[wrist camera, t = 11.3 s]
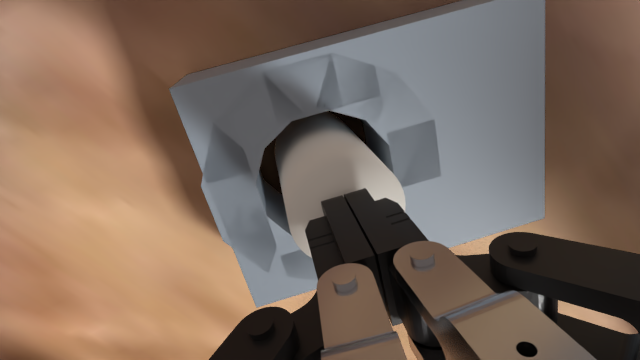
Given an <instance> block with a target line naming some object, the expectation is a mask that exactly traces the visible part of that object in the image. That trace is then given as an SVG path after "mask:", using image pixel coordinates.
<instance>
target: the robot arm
mask: <svg viewBox="0 0 640 360" xmlns="http://www.w3.org/2000/svg"><path fill="white" fill-rule="evenodd" d="M321 206H322V210H323V213H324V216H323V217H319V218H316V219H313V220H309V222H308V225H307V227H306V229H305V233H306V237H307V240H308V244H309V248H310V252H311V256H312V259H313V263H314V267H315V271H316V275H317V279H318V282H317V291H316V293H315V295H314V296H313V298H312V299H311V300H310V301H309V302H308V303H307V304H306V305H304V306H303V307H301V308H300V309H298V310H296V311H295V312H293V313H291V314H290V313H289V312H288V311H287V310H285V309H283V308H280V307H266V308H262V309H259V310H257V311H254V312H253V313H251V314H249V315H248V316H246V317H245V318H244V319H243V320H242V321H241V322H240V323H239V324H238V325H237V326H236V327H235V329H234V330H233V331H232V332H231V333H230V335H229V336H228V337H227V338H226V339H225V341H224V342H223V343H222V344H221V345H220V347H219V348H218V349H217V350H216V351H215V353H214V354H213V355H212V356H211V358H210V359H209V360H407V358H406V355H405V352H404V349H403V347H402V344H401V341H400V339H399V336H398V334H397V332H396V331H395V332H394V331H393V329H392V326H395V325H398V324H401V323H403V324H404V326H405V328H406V330H407V334H408V339H409V344H410V347H411V349H412V351H413V353H414V355H415V356H416V358H417V360H640V254H636V253H631V252H625V251H620V250H615V249H610V248H605V247H600V246H595V245H590V244H585V243H579V242H574V241H569V240H564V239H559V238H554V237H549V236H544V235H539V234H533V233H527V232H513V233H507V234H504V235H501V236H499V237H497V238H495V239H494V240H493V241H492V242H491V244H490V245H489V254H481V255H468V256H460V255H455V254H454V253H453V252H452V251H451V250H449V249H448V248H447V247H446V246H444V245H442V244H440V243H437V242H433V241H429V240H428V239H427V238H426V237H425V235H424V234H423V233H422V232H421V231H420V229H419V228H418V227H417V226H416V224H415V223H414V222H413V221H412V220H410V217H409V216H408V215H407V214H406V213H405V212H404V210H403V209H402V207H401V206H400V205H399V204H398V203H397V202H395V201H392V200H390V199H388V198H383V199H380V200H376V201H374V199H373V198H372V196H371V195H370V193H369V192H368V191H367V189H366V188H364V189H360V190H357V191H354V192H350V193H347V194H344V197H343V195H340V196H337V197H334V198H330V199H327V200H323V201H321ZM558 300H560V301H564V302H567V303H570V304H574V305H577V306H581V307H584V308H588V309H591V310H594V311H598V312H601V313H605V314H608V315H612V316H615V317H618V318H621V319H623V320H625V321H627V322H629V323H630V324H631V325H633V326H634V327H635V328H636V329H637V331H638V334H625V333H621V332H618V331H614V330H611V329H608V328H605V327H602V326H598V325H595V324H592V323H589V322H586V321H582V320H579V319H576V318H573V317H570V316H566V315H563V314H560V313H558ZM389 319H390V320H389ZM390 321H391V323H392V326H391V323H390Z"/></svg>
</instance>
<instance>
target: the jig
mask: <svg viewBox="0 0 640 360" xmlns="http://www.w3.org/2000/svg"><path fill="white" fill-rule="evenodd" d="M169 90H170V93H171V95H172V98H173V100H174V103H175V105H176V108H177V110H178V113H179V115H180V118H181V120H182V123H183V125H184V128H185V130H186V133H187V135H188V138H189V140H190V143H191V145H192V148H193V150H194V153H195V155H196V158H197V160H198V163H199V165H200V168H201V170H202V173H203V178H202V183H201V188H202V190H203V193H204V195H205V198H206V200H207V203H208V205H209V208H210V210H211V212H212V215H213V217H214V220H215V222H216V225H217V227H218V230H219V232H220V234H221V237H222V239H223V241H224V242H225V243H227V244H228V245H229V246H231V247H232V248H233V250H234V253H235V255H236V258H237V260H238V263H239V265H240V268H241V270H242V273H243V275H244V278H245V280H246V283H247V285H248V288H249V290H250V293H251V295H252V298H253V300H254V303H255V305H256V308H257V307H260V306H263V305H267V304H270V303H273V302H276V301H279V300H283V299H286V298H289V297H292V296H296V295H299V294H302V293H305V292H308V291H312V290H315V289H317V282H318V279H317V275H316V271H315V267H314V263H313V259H312V258H311V257H309V256H308V255H306V254H305V253H304V252H303V251H302V250H301V249H300V248H299V247H298V246H297V244H296V243H295V241H294V239H293V237H292V235H291V232H290V228H289V224H288V219H287V214H286V209H285V204H284V199H283V196H282V195H281V194H280V193H279V192H278V191H277V190H275V189H274V188H273V187H272V186H271V185H270V184H268V183H267V182H266V181H265V180H264V179H263V176H262V173H261V170H260V165H261V161H262V156H263V152H264V149H265V148H266V147H267V146H268V145H269V144H270V143H271V142H272V141H273V140H274V139H275V138H276V137H277V136H278V135H279V134H280V133H281V132H282V131H283V130H284V128H285V127H286V126H287V125H288V124H289V123H290V122H291V121H294V120H298V119H301V118H305V117H308V116H312V115H316V114H319V113H323V112H326V111H333V112H337V113H341V114H345V115H349V116H352V117H356V118H359V119H360V120H361V121H362V123H363V128H364V133H365V138H366V143H367V147H368V148H369V149H370V150H371V151H372V152H373V153H374V154H375V155H376V156H377V157H378V158H379V159H380V160H381V161H382V162H383V163H384V164H385V166H386V167H387V168H388V169H389V170H390V171H391V172H392V173H393V174H394V175H395V176H396V178H397V179H398V181H399V182H400V184H401V186H402V189H403V191H404V195H405V203H406V207H405V213H406V214H407V215H408V216H409V217H410V220H412V221H413V222H414V223H415V224H416V226H417V227H418V228H419V229H420V231H421V232H422V233H423V234H424V235H425V237H426V238H427V239H428V240H429V241H433V242H437V243H440V244H442V245H444V246H446V247H447V248H450V247H453V246H456V245H460V244H463V243H466V242H469V241H473V240H476V239H479V238H482V237H485V236H489V235H492V234H495V233H498V232H502V231H505V230H508V229H511V228H514V227H518V226H521V225H524V224H527V223H530V222H534V221H537V220H540V219H543V218H545V0H462V1H458V2H454V3H451V4H447V5H443V6H440V7H436V8H432V9H428V10H425V11H421V12H417V13H414V14H410V15H406V16H403V17H399V18H395V19H391V20H388V21H384V22H380V23H377V24H373V25H369V26H365V27H362V28H358V29H354V30H351V31H347V32H343V33H340V34H336V35H332V36H328V37H325V38H321V39H317V40H314V41H310V42H306V43H302V44H299V45H295V46H291V47H288V48H284V49H280V50H277V51H273V52H269V53H265V54H262V55H258V56H254V57H251V58H247V59H243V60H239V61H236V62H232V63H228V64H225V65H221V66H217V67H214V68H210V69H206V70H202V71H199V72H195V73H191V74H188V75H186V76H184V77H183V78H182V79H181V80H179V81H178V82H177V83H176V84H174V85H173V86H172V87H171V88H169Z"/></svg>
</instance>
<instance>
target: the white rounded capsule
mask: <svg viewBox="0 0 640 360" xmlns="http://www.w3.org/2000/svg"><path fill="white" fill-rule="evenodd" d="M275 159H276V164H277V169H278V174H279V179H280V184H281V189H282V194H283V199H284V204H285V209H286V214H287V219H288V224H289V228H290V232H291V235H292V237H293V239H294V241H295V243H296V244H297V246H298V247H299V248H300V249H301V250H302V251H303V252H304V253H305V254H306V255H308V256H309V257H311V258H312V256H311V252H310V248H309V244H308V240H307V237H306V233H305V229H306V227H307V225H308V222H309V220H313V219H316V218H319V217H323V216H324V213H323V210H322V206H321V201H323V200H327V199H330V198H334V197H337V196H340V195H343V197H344V194H347V193H350V192H354V191H357V190H360V189H364V188H366V189H367V191H368V192H369V193H370V195H371V196H372V198H373V199H374V201H376V200H380V199H383V198H388V199H390V200H392V201H395V202H397V203H398V204H399V205H400V206H401V207H402V209H403V210H404V212H405V207H406V203H405V195H404V191H403V189H402V186H401V184H400V182H399V181H398V179H397V178H396V176H395V175H394V174H393V173H392V172H391V171H390V170H389V169H388V168H387V167H386V166H385V164H384V163H383V162H382V161H381V160H380V159H379V158H378V157H377V156H376V155H375V154H374V153H373V152H372V151H371V150H370V149H369V148H368V147H367V146H366V145H365V144H364V143H363V142H362V140H361V139H360V138H359V137H358V136H357V135H356V134H355V133H354V132H353V131H352V130H351V129H350V128H349V127H348V126H347V125H346V124H345V123H344V122H343V121H342V120H341V119H340V118H338V117H337V116H335V115H333V114H331V113H328V112H323V113H319V114H316V115H312V116H308V117H305V118H301V119H298V120H294V121H291V122H290V123H289V124H288V125H287V126H286V127H285V128H284V130H283V131H282V132H281V133H280V134H279V135H278V136H277V139H276V142H275Z"/></svg>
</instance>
